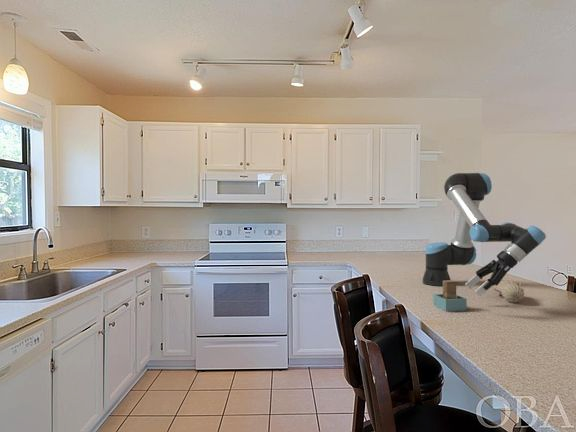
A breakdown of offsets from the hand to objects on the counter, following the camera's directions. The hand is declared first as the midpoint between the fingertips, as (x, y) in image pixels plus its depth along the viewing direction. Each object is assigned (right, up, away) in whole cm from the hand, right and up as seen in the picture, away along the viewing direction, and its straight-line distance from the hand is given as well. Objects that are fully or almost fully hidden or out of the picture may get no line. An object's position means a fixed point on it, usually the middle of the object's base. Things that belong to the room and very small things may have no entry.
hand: (472, 290), depth 153 cm
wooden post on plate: (-9, -7, +2) cm, 12 cm away
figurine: (+26, -8, +19) cm, 34 cm away
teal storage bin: (-9, -8, +2) cm, 12 cm away
